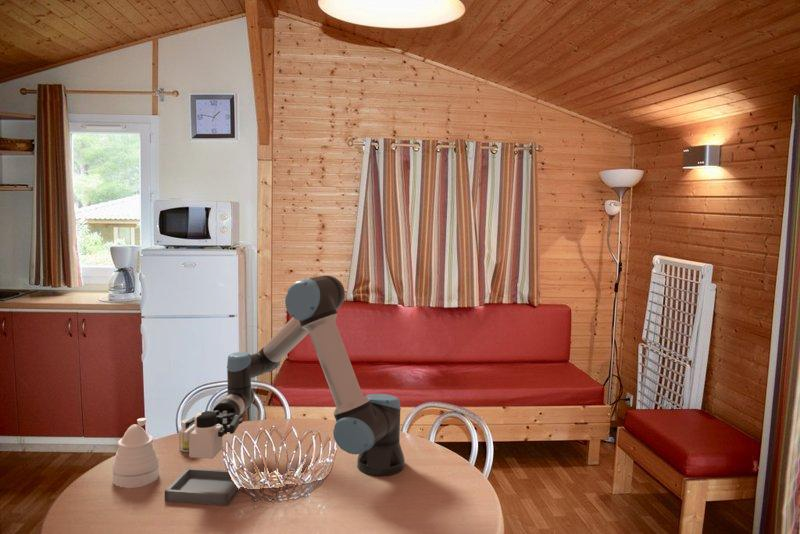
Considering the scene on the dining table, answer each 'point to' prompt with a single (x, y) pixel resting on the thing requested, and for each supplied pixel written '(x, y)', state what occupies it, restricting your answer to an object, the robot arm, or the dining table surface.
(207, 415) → the medicine bottle
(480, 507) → the dining table surface
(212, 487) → the tray
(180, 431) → the supplement bottle
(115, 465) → the honey pot
